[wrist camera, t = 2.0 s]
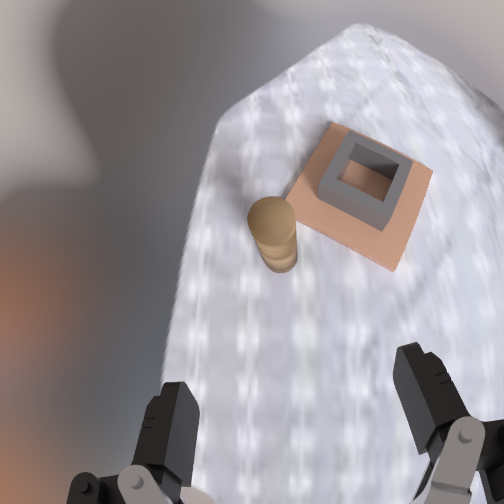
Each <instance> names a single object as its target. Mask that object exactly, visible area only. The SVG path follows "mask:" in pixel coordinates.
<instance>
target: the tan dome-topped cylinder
mask: <svg viewBox="0 0 504 504" xmlns="http://www.w3.org/2000/svg"><path fill="white" fill-rule="evenodd" d="M248 225H249V228H250V230H251V233H252V235H253V237H254V239H255V241H256V244H257V246H258V248H259V250H260V253H261V255H262V257H263V259H264V261H265V264H266V265H267V267H268V268H269V269H270V270H272V271H273V272H276V273H285V272H287V271H289V270H291V269H292V268H293V267H294V266H295V264H296V262H297V238H296V219H295V212H294V209H293V207H292V206H291V205H290V203H288V202H287V201H286V200H284V199H282V198H279V197H274V196H271V197H265V198H262V199H260V200H258V201H257V202H256V203H255V204H254V205H253V206H252V207H251V209H250V211H249V213H248Z"/></svg>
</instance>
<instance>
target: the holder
mask: <svg viewBox="0 0 504 504" xmlns="http://www.w3.org/2000/svg"><path fill="white" fill-rule="evenodd" d="M432 173H433V170H431V169H429V168H428V167H426V166H424V165H422V164H420V163H419V162H417V161H415V160H413V159H411V158H409V157H407V156H405V155H403V154H402V153H400V152H398V151H396V150H394V149H392V148H390V147H388V146H386V145H384V144H381V143H379V142H377V141H375V140H373V139H371V138H369V137H367V136H364V135H362V134H360V133H358V132H355V131H353V130H351V129H349V128H346V127H344V126H342V125H339V124H337V123H334V122H332V124H331V126H330V127H329V129H328V131H327V132H326V134H325V135H324V137H323V139H322V140H321V142H320V144H319V145H318V147H317V148H316V150H315V152H314V153H313V155H312V157H311V158H310V160H309V161H308V163H307V165H306V166H305V168H304V169H303V171H302V173H301V174H300V176H299V178H298V179H297V181H296V182H295V184H294V186H293V187H292V189H291V191H290V192H289V194H288V195H287V197H286V199H285V200H286V201H287V202H288V203H290V205H291V206H292V207H293V209H294V212H295V219H296V220H297V221H299V222H301V223H302V224H304V225H306V226H308V227H310V228H312V229H314V230H316V231H318V232H320V233H322V234H324V235H326V236H328V237H329V238H331V239H333V240H335V241H337V242H339V243H341V244H343V245H345V246H346V247H348V248H350V249H352V250H354V251H356V252H358V253H359V254H361V255H363V256H365V257H367V258H369V259H370V260H372V261H374V262H376V263H378V264H379V265H381V266H383V267H385V268H387V269H388V270H390V271H392V272H394V271H395V270H396V268H397V265H398V263H399V261H400V259H401V256H402V254H403V252H404V249H405V247H406V244H407V242H408V239H409V237H410V234H411V232H412V229H413V227H414V224H415V222H416V219H417V216H418V214H419V211H420V208H421V205H422V202H423V200H424V197H425V194H426V191H427V188H428V185H429V182H430V179H431V176H432Z"/></svg>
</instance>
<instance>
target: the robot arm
mask: <svg viewBox="0 0 504 504" xmlns="http://www.w3.org/2000/svg"><path fill="white" fill-rule="evenodd" d="M393 380H394V385H395V388H396V390H397V393H398V396H399V398H400V401H401V404H402V406H403V409H404V412H405V415H406V418H407V420H408V423H409V426H410V429H411V432H412V435H413V438H414V441H415V444H416V447H417V450H418V453H419V455H420V454H423V453H426V452H428V454H429V457H430V459H429V461H428V464H427V466H426V469H425V471H424V473H423V476H422V478H421V480H420V482H419V485H418V487H417V489H416V491H415V493H414V495H413V497H412V499H411V501H410V503H409V504H469V503H470V500H471V496H472V492H471V491H470V486H471V483H472V480H473V477H474V474H475V471H479V473H480V477H481V481H482V484H483V488H484V492H485V496H486V500H487V504H504V419H502V420H496V421H489V422H482V421H480V420H478V419H477V418H474V417H472V416H471V415H470V414H469V413H468V411H467V409H466V407H465V405H464V403H463V401H462V399H461V397H460V395H459V393H458V391H457V389H456V387H455V385H454V383H453V381H451V377H450V375H449V373H447V370H446V368H445V366H444V364H443V362H442V360H441V359H440V358H438V357H437V356H436V355H435V354H433V353H432V352H429V353H426V354H424V352H423V350H422V349H421V347H420V345H419V344H418V343H417V342H414V343H411V344H407V345H404V346H400V347H398V348H397V352H396V358H395V364H394V370H393ZM199 417H200V411H199V406H198V403H197V401H196V400H195V398H194V396H193V395H192V393H191V391H190V390H189V388H188V386H187V385H186V383H185V382H166V383H164V385H163V387H162V391H161V395H160V396H154V397H153V399H152V400H151V401H150V403H149V404H148V405H147V408H146V411H145V415H144V420H143V423H142V429H141V430H140V434H139V438H138V442H137V446H136V450H135V454H134V458H133V461H132V464H131V465H130V466H128V467H126V468H125V469H124V470H122V471H121V473H120V474H119V475H115V476H109V477H101V478H97V477H95V476H94V475H93V474H91V473H88V472H83V473H80V474H78V475H77V476H75V477H74V479H73V480H72V482H71V486H70V491H69V495H68V499H67V504H187V503H186V502H185V500H184V499H183V497H182V496H181V495H180V491H181V486H183V487H191V480H192V472H193V464H194V456H195V448H196V440H197V432H198V425H199Z"/></svg>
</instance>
